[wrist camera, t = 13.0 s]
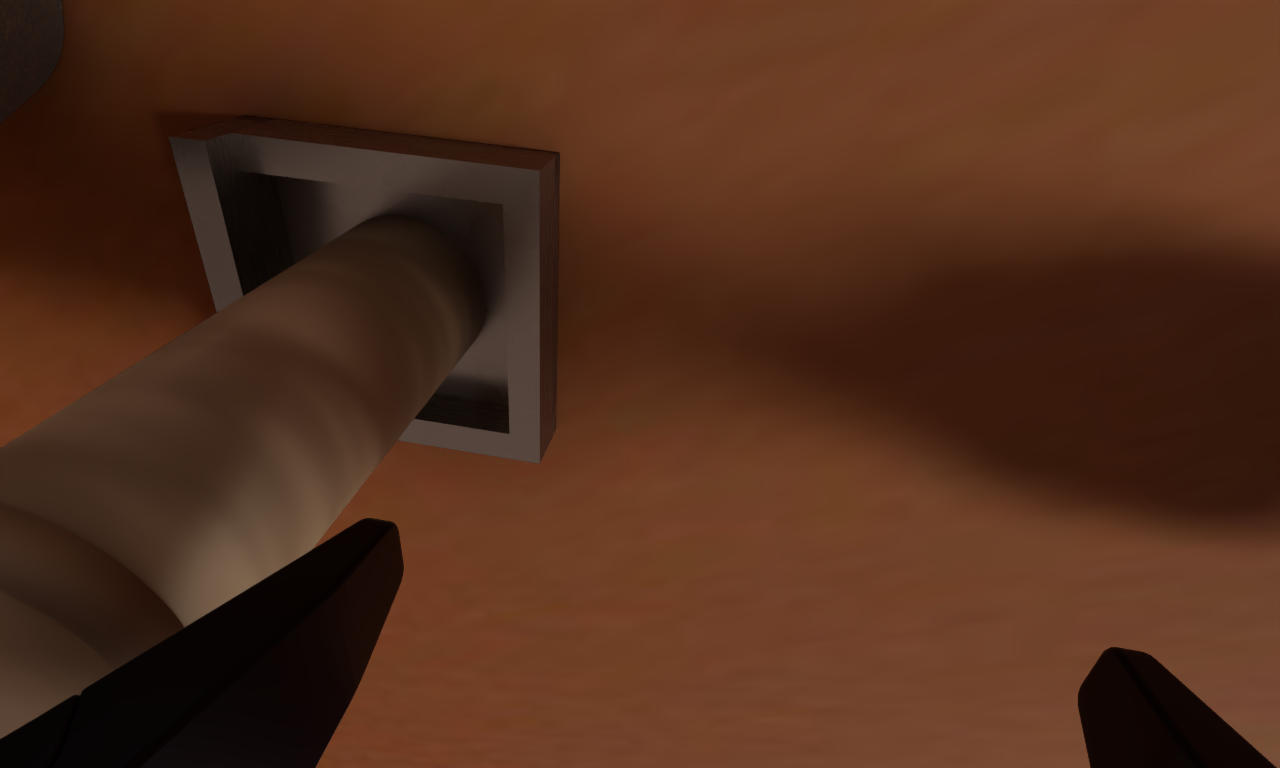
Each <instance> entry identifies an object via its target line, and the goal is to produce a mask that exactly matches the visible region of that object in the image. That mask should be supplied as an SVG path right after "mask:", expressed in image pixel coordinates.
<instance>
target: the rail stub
mask: <svg viewBox="0 0 1280 768" xmlns="http://www.w3.org/2000/svg"><path fill="white" fill-rule="evenodd" d="M484 318H485V295H484V291H483V287H482V284H481V281H480V278H479V275H478V274H477V272H476V270H475V268H474V266H473V264H472V263H471V261H470V260H469V258H468V257H467V256H466V254H465V253H464V252H463V251H462V250H461V248H460V247H459V246H458V245H457V244H456V243H455V242H454V241H453V240H451V239H450V238H449V237H447V236H446V235H445V234H444V233H442V232H441V231H439V230H437V229H436V228H434V227H432V226H430V225H428V224H426V223H424V222H421V221H418V220H415V219H412V218H407V217H402V216H380V217H375V218H371V219H369V220H366V221H363V222H362V223H360V224H358V225H357V226H355V227H353V228H352V229H350V230H349V231H347V232H345V233H344V234H342V235H341V236H339V237H337V238H336V239H334V240H333V241H331V242H329V243H328V244H326V245H325V246H323V247H321V248H320V249H318V250H317V251H315V252H313V253H312V254H310V255H309V256H307V257H305V258H304V259H302V260H301V261H299V262H297V263H296V264H294V265H293V266H291V267H289V268H288V269H286V270H285V271H283V272H281V273H280V274H278V275H277V276H275V277H273V278H272V279H270V280H269V281H267V282H265V283H264V284H262V285H261V286H259V287H257V288H256V289H254V290H253V291H251V292H249V293H248V294H246V295H245V296H243V297H241V298H240V299H238V300H237V301H235V302H233V303H232V304H230V305H229V306H227V307H225V308H224V309H222V310H221V311H219V312H217V313H216V314H214V315H213V316H211V317H209V318H208V319H206V320H205V321H203V322H201V323H200V324H198V325H197V326H195V327H193V328H192V329H190V330H189V331H187V332H185V333H184V334H182V335H181V336H179V337H177V338H176V339H174V340H173V341H171V342H169V343H168V344H166V345H165V346H163V347H161V348H160V349H158V350H157V351H155V352H153V353H152V354H150V355H149V356H147V357H145V358H144V359H142V360H141V361H139V362H137V363H136V364H134V365H133V366H131V367H129V368H128V369H126V370H125V371H123V372H121V373H120V374H118V375H117V376H115V377H113V378H112V379H110V380H109V381H107V382H105V383H104V384H102V385H101V386H99V387H97V388H96V389H94V390H93V391H91V392H89V393H88V394H86V395H85V396H83V397H81V398H80V399H78V400H77V401H75V402H73V403H72V404H70V405H69V406H67V407H65V408H64V409H62V410H61V411H59V412H57V413H56V414H54V415H53V416H51V417H49V418H48V419H46V420H45V421H43V422H41V423H40V424H38V425H37V426H35V427H33V428H32V429H30V430H29V431H27V432H25V433H24V434H22V435H21V436H19V437H17V438H16V439H14V440H13V441H11V442H9V443H8V444H6V445H5V446H3V447H1V448H0V739H1V738H3V737H4V736H6V735H8V734H9V733H11V732H13V731H14V730H16V729H18V728H20V727H21V726H23V725H25V724H26V723H28V722H30V721H31V720H33V719H35V718H36V717H38V716H40V715H41V714H43V713H45V712H46V711H48V710H50V709H51V708H53V707H55V706H56V705H58V704H59V703H61V702H63V701H64V700H66V699H68V698H69V697H71V696H73V695H80V694H81V692H82V690H83V689H85V688H86V687H88V686H89V685H91V684H93V683H94V682H96V681H98V680H99V679H101V678H103V677H104V676H106V675H107V674H109V673H111V672H112V671H114V670H116V669H117V668H119V667H121V666H122V665H124V664H125V663H127V662H129V661H130V660H132V659H134V658H135V657H137V656H139V655H140V654H142V653H143V652H145V651H147V650H148V649H150V648H152V647H153V646H155V645H157V644H158V643H160V642H162V641H163V640H165V639H166V638H168V637H170V636H171V635H173V634H175V633H176V632H178V631H180V630H181V629H183V628H184V627H186V626H188V625H189V624H191V623H193V622H194V621H196V620H198V619H199V618H201V617H203V616H204V615H206V614H207V613H209V612H211V611H212V610H214V609H216V608H217V607H219V606H221V605H222V604H224V603H225V602H227V601H229V600H230V599H232V598H234V597H235V596H237V595H239V594H240V593H242V592H244V591H245V590H247V589H248V588H250V587H252V586H253V585H255V584H257V583H258V582H260V581H262V580H263V579H265V578H266V577H268V576H270V575H271V574H273V573H275V572H276V571H278V570H280V569H281V568H283V567H284V566H286V565H288V564H289V563H291V562H293V561H294V560H296V559H298V558H299V557H301V556H303V555H304V554H306V553H307V552H309V551H311V550H312V549H313V548H314V546H315V545H316V544H317V543H318V541H319V540H320V539H321V537H322V536H323V535H324V534H325V532H326V531H327V530H328V529H329V527H330V526H331V525H332V523H333V522H334V521H335V520H336V518H337V517H338V516H339V514H340V513H341V512H342V511H343V509H344V508H345V507H346V505H347V504H348V503H349V502H350V500H351V499H352V498H353V496H354V495H355V494H356V493H357V491H358V490H359V489H360V487H361V486H362V485H363V484H364V482H365V481H366V480H367V479H368V477H369V476H370V475H371V473H372V472H373V471H374V470H375V468H376V467H377V466H378V464H379V463H380V462H381V461H382V459H383V458H384V457H385V455H386V454H387V453H388V452H389V450H390V449H391V448H392V446H393V445H394V444H395V443H396V441H397V440H398V439H399V437H400V436H401V435H402V434H403V432H404V431H405V430H406V428H407V427H408V426H409V425H410V423H411V422H412V421H413V420H414V418H415V417H416V416H417V414H418V413H419V412H420V411H421V409H422V408H423V407H424V405H425V404H426V403H427V402H428V400H429V399H430V398H431V396H432V395H433V394H434V393H435V391H436V390H437V389H438V387H439V386H440V385H441V384H442V382H443V381H444V380H445V378H446V377H447V376H448V375H449V373H450V372H451V371H452V370H453V368H454V367H455V366H456V364H457V363H458V362H459V361H460V359H461V358H462V357H463V355H464V354H465V353H466V352H467V350H468V349H469V348H470V346H471V345H472V344H473V343H474V341H475V340H476V339H477V337H478V335H479V333H480V331H481V329H482V326H483V323H484Z"/></svg>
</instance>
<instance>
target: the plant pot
mask: <svg viewBox="0 0 1280 768" xmlns="http://www.w3.org/2000/svg"><path fill="white" fill-rule="evenodd" d="M63 37H64V23H63V11H62V0H0V123H1V122H2V121H3V120H4V119H6V118H7V117H8V116H9V115H10V114H11V113H13V112H14V111H15V110H16V109H17V108H18V107H20V106H21V105H22V104H23V103H24V102H25V101H26V100H27V99H28V98H29V97H31V96H32V95H33V94H34V93H35V92H36V91H37V90H38V89H39V88H40V87H41V86H43V85H44V84H45V82H46V81H47V80H48V79H49V78H50V76H51V75H52V73H53V71H54V69H55V67H56V65H57V63H58V61H59V57H60V54H61V50H62V44H63Z"/></svg>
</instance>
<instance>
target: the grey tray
mask: <svg viewBox="0 0 1280 768" xmlns="http://www.w3.org/2000/svg"><path fill="white" fill-rule="evenodd" d="M169 140H170V144H171V148H172V151H173V155H174V159H175V162H176V166H177V169H178V173H179V177H180V180H181V184H182V188H183V191H184V195H185V199H186V202H187V206H188V210H189V213H190V217H191V221H192V224H193V228H194V232H195V235H196V239H197V242H198V246H199V250H200V253H201V257H202V261H203V264H204V268H205V272H206V275H207V279H208V283H209V286H210V290H211V294H212V297H213V301H214V304H215V308H216V312H219V311H221V310H222V309H224V308H225V307H227V306H229V305H230V304H232V303H233V302H235V301H237V300H238V299H240V298H241V297H243V296H245V295H246V294H248V293H249V292H251V291H253V290H254V289H256V288H257V287H259V286H261V285H262V284H264V283H265V282H267V281H269V280H270V279H272V278H273V277H275V276H277V275H278V274H280V273H281V272H283V271H285V270H286V269H288V268H289V267H291V266H293V265H294V264H296V263H297V262H299V261H301V260H302V259H304V258H305V257H307V256H309V255H310V254H312V253H313V252H315V251H317V250H318V249H320V248H321V247H323V246H325V245H326V244H328V243H329V242H331V241H333V240H334V239H336V238H337V237H339V236H341V235H342V234H344V233H345V232H347V231H349V230H350V229H352V228H353V227H355V226H357V225H358V224H360V223H362V222H363V221H366V220H369V219H371V218H375V217H380V216H402V217H407V218H412V219H415V220H418V221H421V222H424V223H426V224H428V225H430V226H432V227H434V228H436V229H437V230H439V231H441V232H442V233H444V234H445V235H446V236H447V237H449V238H450V239H451V240H453V241H454V242H455V243H456V244H457V245H458V246H459V247H460V248H461V250H462V251H463V252H464V253H465V254H466V256H467V257H468V258H469V260H470V261H471V263H472V264H473V266H474V268H475V270H476V272H477V274H478V275H479V278H480V281H481V284H482V287H483V291H484V295H485V318H484V323H483V326H482V329H481V331H480V333H479V335H478V337H477V339H476V340H475V341H474V343H473V344H472V345H471V346H470V348H469V349H468V350H467V352H466V353H465V354H464V355H463V357H462V358H461V359H460V361H459V362H458V363H457V364H456V366H455V367H454V368H453V370H452V371H451V372H450V373H449V375H448V376H447V377H446V378H445V380H444V381H443V382H442V384H441V385H440V386H439V387H438V389H437V390H436V391H435V393H434V394H433V395H432V396H431V398H430V399H429V400H428V402H427V403H426V404H425V405H424V407H423V408H422V409H421V411H420V412H419V413H418V414H417V416H416V417H415V418H414V420H413V421H412V422H411V423H410V425H409V426H408V427H407V428H406V430H405V431H404V432H403V434H402V435H401V436H400V437H399V439H398V440H399V441H405V442H411V443H417V444H423V445H429V446H435V447H441V448H448V449H454V450H460V451H466V452H472V453H478V454H484V455H490V456H496V457H502V458H509V459H515V460H521V461H527V462H533V463H539V464H540V462H541V460H542V458H543V456H544V454H545V451H546V449H547V447H548V445H549V443H550V441H551V438H552V436H553V434H554V432H555V430H556V383H557V312H558V242H559V171H560V153H557V152H549V151H540V150H532V149H523V148H515V147H507V146H498V145H490V144H481V143H473V142H465V141H456V140H448V139H439V138H431V137H422V136H414V135H406V134H397V133H389V132H380V131H372V130H363V129H355V128H347V127H338V126H330V125H321V124H313V123H304V122H296V121H288V120H279V119H271V118H262V117H254V116H245V115H243V116H240V117H236V118H233V119H229V120H226V121H222V122H219V123H215V124H211V125H208V126H204V127H201V128H197V129H194V130H190V131H187V132H183V133H179V134H176V135H172V136H169Z"/></svg>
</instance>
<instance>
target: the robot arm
mask: <svg viewBox="0 0 1280 768" xmlns="http://www.w3.org/2000/svg"><path fill="white" fill-rule="evenodd" d="M403 571H404V563H403V557H402V550H401V543H400V537H399V531H398V527H397V526H396V524H395V523H393V522H391V521H385V520H379V519H373V518H365V519H362V520H360V521H358V522H357V523H355V524H353V525H352V526H350V527H348V528H347V529H345V530H344V531H342V532H340V533H339V534H337V535H335V536H334V537H332V538H330V539H329V540H327V541H325V542H324V543H322V544H321V545H319V546H317V547H316V548H314V549H312V550H311V551H309V552H307V553H306V554H304V555H303V556H301V557H299V558H298V559H296V560H294V561H293V562H291V563H289V564H288V565H286V566H284V567H283V568H281V569H280V570H278V571H276V572H275V573H273V574H271V575H270V576H268V577H266V578H265V579H263V580H262V581H260V582H258V583H257V584H255V585H253V586H252V587H250V588H248V589H247V590H245V591H244V592H242V593H240V594H239V595H237V596H235V597H234V598H232V599H230V600H229V601H227V602H225V603H224V604H222V605H221V606H219V607H217V608H216V609H214V610H212V611H211V612H209V613H207V614H206V615H204V616H203V617H201V618H199V619H198V620H196V621H194V622H193V623H191V624H189V625H188V626H186V627H184V628H183V629H181V630H180V631H178V632H176V633H175V634H173V635H171V636H170V637H168V638H166V639H165V640H163V641H162V642H160V643H158V644H157V645H155V646H153V647H152V648H150V649H148V650H147V651H145V652H143V653H142V654H140V655H139V656H137V657H135V658H134V659H132V660H130V661H129V662H127V663H125V664H124V665H122V666H121V667H119V668H117V669H116V670H114V671H112V672H111V673H109V674H107V675H106V676H104V677H103V678H101V679H99V680H98V681H96V682H94V683H93V684H91V685H89V686H88V687H86V688H85V689H83V690H82V692H81V694H80V695H73V696H71V697H69V698H68V699H66V700H64V701H63V702H61V703H59V704H58V705H56V706H55V707H53V708H51V709H50V710H48V711H46V712H45V713H43V714H41V715H40V716H38V717H36V718H35V719H33V720H31V721H30V722H28V723H26V724H25V725H23V726H21V727H20V728H18V729H16V730H14V731H13V732H11V733H9V734H8V735H6V736H4V737H3V738H1V739H0V768H315V767H316V766H317V764H318V762H319V760H320V758H321V756H322V754H323V753H324V751H325V749H326V747H327V745H328V743H329V741H330V739H331V738H332V736H333V734H334V732H335V730H336V728H337V726H338V725H339V723H340V721H341V719H342V717H343V715H344V713H345V712H346V710H347V708H348V706H349V704H350V702H351V700H352V698H353V696H354V694H355V692H356V690H357V688H358V686H359V683H360V681H361V679H362V677H363V674H364V672H365V670H366V667H367V665H368V662H369V660H370V657H371V655H372V652H373V650H374V647H375V645H376V643H377V640H378V638H379V635H380V633H381V630H382V628H383V625H384V623H385V621H386V618H387V616H388V613H389V611H390V608H391V606H392V603H393V601H394V599H395V596H396V594H397V591H398V589H399V586H400V584H401V581H402V577H403ZM1078 709H1079V714H1080V719H1081V723H1082V728H1083V733H1084V738H1085V743H1086V748H1087V753H1088V758H1089V762H1090V767H1091V768H1276V767H1275V766H1274V765H1273V764H1272V763H1271V762H1270V761H1269V760H1267V759H1266V758H1265V757H1264V756H1263V755H1262V754H1261V753H1260V752H1259V751H1257V750H1256V749H1255V748H1254V747H1253V746H1252V745H1251V744H1250V743H1249V742H1247V741H1246V740H1245V739H1244V738H1243V737H1242V736H1241V735H1240V734H1239V733H1237V732H1236V731H1235V730H1234V729H1233V728H1232V727H1231V726H1230V725H1228V724H1227V723H1226V722H1225V721H1224V720H1223V719H1222V718H1221V717H1220V716H1218V715H1217V714H1216V713H1215V712H1214V711H1213V710H1212V709H1211V708H1210V707H1208V706H1207V705H1206V704H1205V703H1204V702H1203V701H1202V700H1201V699H1200V698H1198V697H1197V696H1196V695H1195V694H1194V693H1193V692H1192V691H1191V690H1190V689H1188V688H1187V687H1186V686H1185V685H1184V684H1183V683H1182V682H1181V681H1179V680H1178V679H1177V678H1176V677H1175V676H1174V675H1173V674H1172V673H1171V672H1169V671H1168V670H1167V669H1166V668H1165V667H1164V666H1163V665H1162V664H1161V663H1159V662H1158V661H1157V660H1156V659H1155V658H1153V657H1152V656H1151V655H1149V654H1147V653H1144V652H1141V651H1135V650H1130V649H1124V648H1118V647H1111V648H1109V649H1107V650H1105V651H1104V652H1103V653H1102V655H1101V656H1100V658H1099V659H1098V661H1097V662H1096V664H1095V665H1094V667H1093V668H1092V670H1091V671H1090V673H1089V674H1088V676H1087V677H1086V679H1085V680H1084V682H1083V683H1082V685H1081V687H1080V690H1079V693H1078Z"/></svg>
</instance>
